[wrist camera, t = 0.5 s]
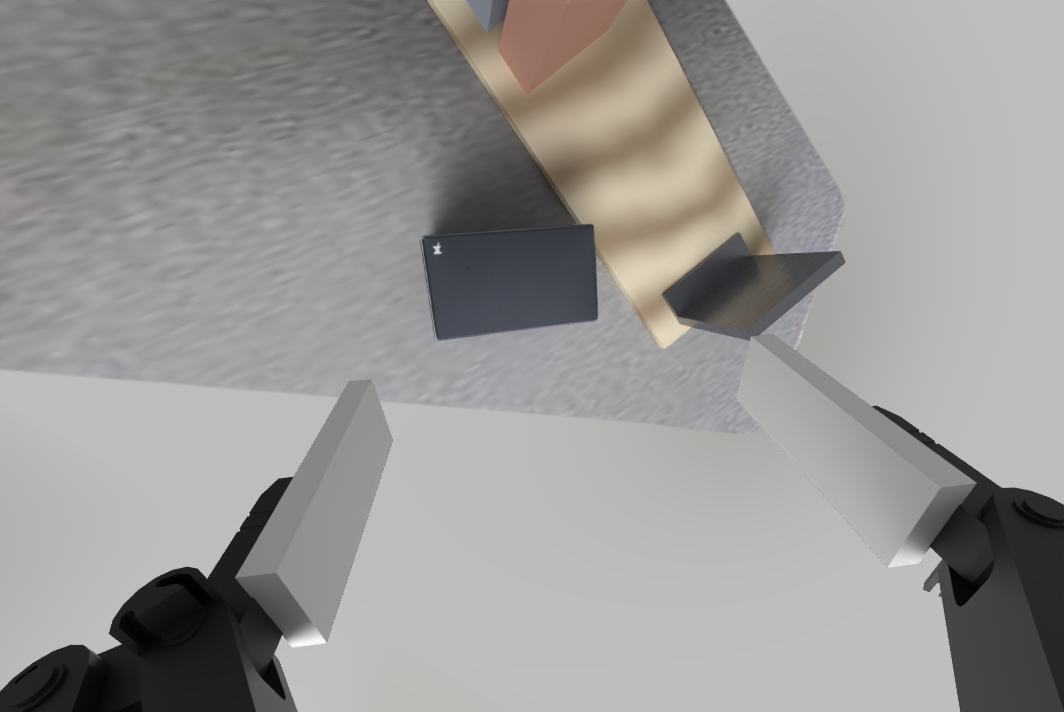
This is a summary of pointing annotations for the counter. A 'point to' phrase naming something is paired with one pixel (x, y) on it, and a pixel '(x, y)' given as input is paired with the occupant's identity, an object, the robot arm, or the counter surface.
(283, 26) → the counter surface
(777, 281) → the bookend
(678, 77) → the shelf board
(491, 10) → the book
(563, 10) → the book
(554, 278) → the small box
